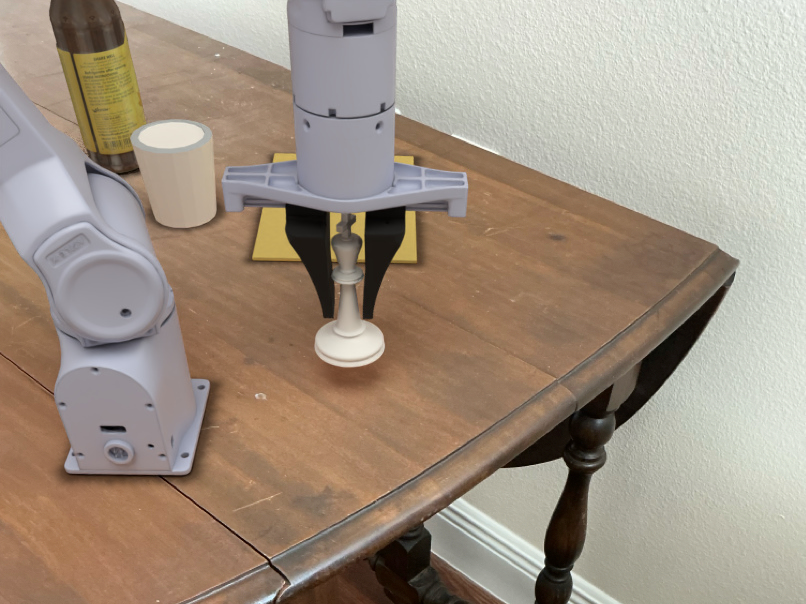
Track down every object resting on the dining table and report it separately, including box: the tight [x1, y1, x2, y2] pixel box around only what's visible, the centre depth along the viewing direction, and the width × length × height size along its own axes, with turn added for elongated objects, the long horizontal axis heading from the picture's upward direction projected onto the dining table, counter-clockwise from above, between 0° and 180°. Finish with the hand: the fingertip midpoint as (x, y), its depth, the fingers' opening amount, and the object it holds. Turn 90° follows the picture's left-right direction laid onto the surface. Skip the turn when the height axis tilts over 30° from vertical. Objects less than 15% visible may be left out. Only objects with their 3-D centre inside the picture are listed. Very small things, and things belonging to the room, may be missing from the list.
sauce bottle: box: [48, 0, 148, 174], centre depth 76 cm, size 6×6×20 cm
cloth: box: [251, 152, 418, 264], centre depth 78 cm, size 20×14×1 cm
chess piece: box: [313, 213, 386, 368], centre depth 55 cm, size 5×5×10 cm
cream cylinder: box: [130, 118, 218, 229], centre depth 74 cm, size 7×7×7 cm
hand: (349, 310), depth 57 cm, fingers closed on chess piece
